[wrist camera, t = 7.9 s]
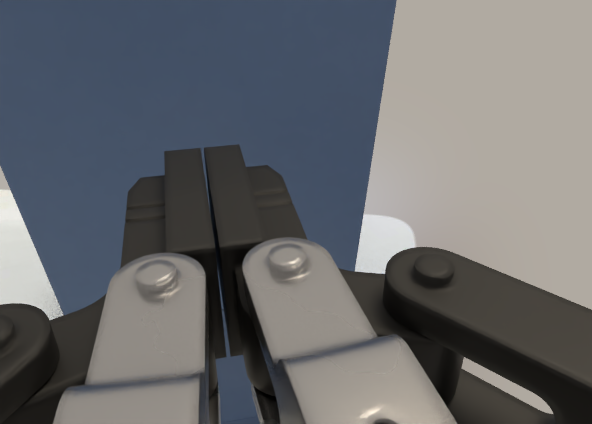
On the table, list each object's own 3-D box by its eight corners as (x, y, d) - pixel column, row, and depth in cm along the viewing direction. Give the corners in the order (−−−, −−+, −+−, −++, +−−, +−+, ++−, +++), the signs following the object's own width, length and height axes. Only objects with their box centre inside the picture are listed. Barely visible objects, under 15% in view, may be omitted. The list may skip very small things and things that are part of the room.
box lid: (-101, -105, 13) (-112, -96, 12) (403, -112, 15) (413, -105, 14) (72, 317, 24) (70, 332, 23) (347, 277, 26) (351, 290, 25)
